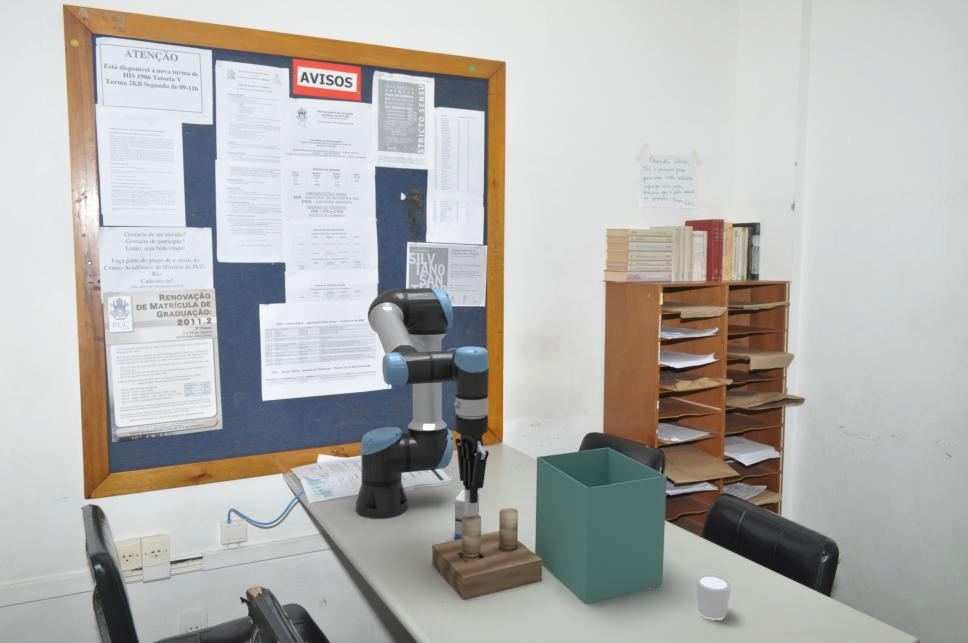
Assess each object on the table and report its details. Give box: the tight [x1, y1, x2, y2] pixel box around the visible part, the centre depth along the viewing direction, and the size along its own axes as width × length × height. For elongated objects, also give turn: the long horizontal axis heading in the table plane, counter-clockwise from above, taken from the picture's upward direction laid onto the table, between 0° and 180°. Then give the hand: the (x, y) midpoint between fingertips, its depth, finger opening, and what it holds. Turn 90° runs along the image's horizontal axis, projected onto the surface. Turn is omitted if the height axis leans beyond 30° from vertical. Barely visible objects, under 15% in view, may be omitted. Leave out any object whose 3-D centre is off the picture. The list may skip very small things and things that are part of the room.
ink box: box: [454, 489, 480, 540], centre depth 177 cm, size 8×5×12 cm, turn 168°
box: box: [534, 447, 668, 605], centre depth 158 cm, size 23×21×26 cm
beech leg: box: [462, 515, 482, 562], centre depth 156 cm, size 4×4×14 cm
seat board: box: [431, 507, 543, 600], centre depth 158 cm, size 18×20×14 cm
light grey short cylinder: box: [695, 574, 732, 618], centre depth 141 cm, size 7×7×7 cm
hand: (471, 514), depth 155 cm, fingers closed
